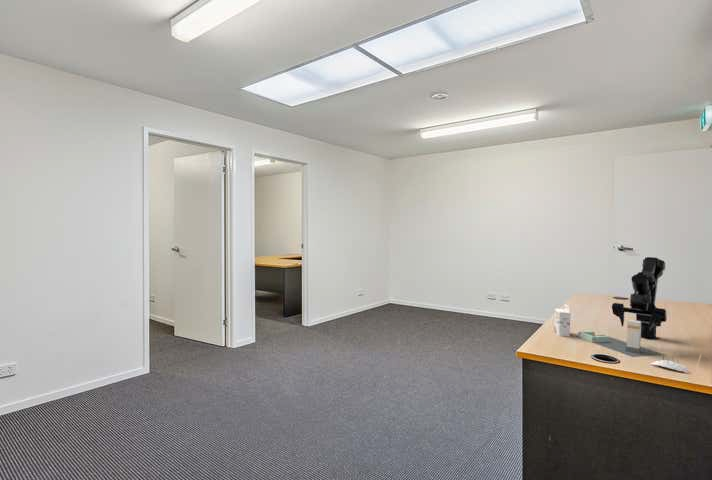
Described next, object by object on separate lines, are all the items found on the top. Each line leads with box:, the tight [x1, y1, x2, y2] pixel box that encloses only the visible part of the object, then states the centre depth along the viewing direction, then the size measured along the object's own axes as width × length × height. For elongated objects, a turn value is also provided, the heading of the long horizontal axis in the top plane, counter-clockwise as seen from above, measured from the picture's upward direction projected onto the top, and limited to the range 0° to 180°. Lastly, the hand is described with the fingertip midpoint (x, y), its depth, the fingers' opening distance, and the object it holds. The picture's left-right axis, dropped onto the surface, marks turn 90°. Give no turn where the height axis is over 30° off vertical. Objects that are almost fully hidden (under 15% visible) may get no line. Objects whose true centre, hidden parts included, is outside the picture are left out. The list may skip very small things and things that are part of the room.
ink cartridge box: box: [553, 303, 571, 337], centre depth 189 cm, size 9×5×15 cm, turn 168°
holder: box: [577, 330, 610, 344], centre depth 180 cm, size 9×9×2 cm
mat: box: [574, 334, 666, 358], centre depth 172 cm, size 16×30×1 cm, turn 13°
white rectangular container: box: [626, 319, 642, 354], centre depth 163 cm, size 5×5×12 cm
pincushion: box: [649, 355, 691, 375], centre depth 143 cm, size 12×6×6 cm, turn 36°
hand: (635, 328), depth 164 cm, fingers open, 9 cm apart
